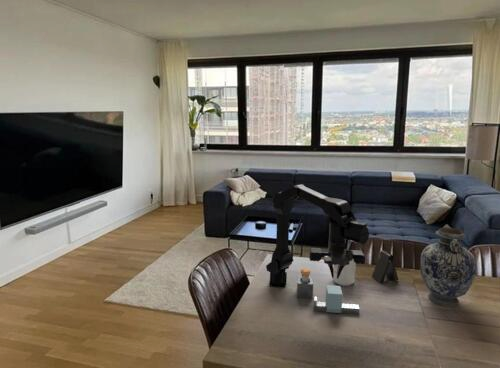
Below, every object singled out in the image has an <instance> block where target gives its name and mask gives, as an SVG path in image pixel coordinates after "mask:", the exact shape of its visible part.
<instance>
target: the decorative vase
mask: <svg viewBox="0 0 500 368" xmlns="http://www.w3.org/2000/svg"><path fill="white" fill-rule="evenodd" d="M435 235H437V237H439V238H438V242H434V243H431V244H428V245H427V246H426V247H424V249H423V250H422V252H421V254H420V259H419V260H420V261H419V269H420V275H421V278H422V280H423V282H424V285H425V287H426V288H427V289H428V290H429V292H428V293H427V298H428V299H429V300H430V301H431V302H433V303H434V304H437V305H439V306H443V307H447V308H449V307H450V308H453V307H456V306H459V304H460V301H459V299H458V298H461V297H462V296H465V295H466V294H467V293H468V291H469V290H470V288H471V286H472V284H473V283H474V281H475V278H476V274H477V269H478V268H477V266H478V265H477V259H476V258H475V256H474V254H473V253H472V252H471V251H469V250H468V249H467V248H465V247H463V246H462V242H461V241H462V240H465V239H466V235H465V233H463V231H462V230H461V229H458V228H455V227H451V226H449V224H445V225H444V226H443V227H440V228H439V229H438V230H436V231H435Z"/></svg>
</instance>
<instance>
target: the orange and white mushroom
mask: <svg viewBox="0 0 500 368" xmlns="http://www.w3.org/2000/svg"><path fill="white" fill-rule="evenodd" d="M300 274H301V277H302V280H301V282H308V283H309V277H310V274H311V269H308V268H301V269H300Z"/></svg>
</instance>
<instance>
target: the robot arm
mask: <svg viewBox="0 0 500 368" xmlns="http://www.w3.org/2000/svg"><path fill="white" fill-rule="evenodd" d="M298 198H299V199H301V200H303V201H305V202H308V203H310V204H312V205H313V206H315V207H317V208H319V209H320V210H322V211H323V213H324V214H325V215H326V216H328V217H327V218H325V219H324V222H325V223H327V224H329V232H328V233H329V235H328V247H327V248H328V249H327V250H328V251H322V249H321V248H319V247H310V248H309V250H308V251H309V252H308V255H309V261H310V262H311V261H312V262H319V261H321V260H322V258H323V263H324V264H326V265H327V266H328V268H329V271H330V275H331V278H332V279H333V277H334V272H333V267H334V266H333V265H338V268H337V279H338V278H339V276H340V274H341V271H342V269H343V268H344V266H346V265H349V264H350V263H349V262H350V261H352V259H353V261H354V262H355V263H356V265H357V264H358V265H359V264H360V265H365V263H366V256H365V253H364V252H363V251H362V250H358V249H347V247H346V245H347V244H346V243H347V242H346V241H349V242H353V243H356V244H360V245H366V244H367V242H368V240H369V237H370V231H369V229H368V227H367V223H363V222H358V221H357V218H356V216H355V214H354V212H353V211H352V209H351V205H350V203H349V202H348V201H347V200H344V199H341V198H336V197H335V198H334V197H328V196H326V195H325V194H322V193H320V192H318V191H316V190H313V189H311V188H309V187H306V186H305V185H304V184H296V185H292V187H290V188H287V189H286V190H283V191H279V192H276V193H275V194H273V196H272V206H273V209H274V211H275V212H276V235H275V236H276V239H275V241H276V242H275V249H274V250H273V252H272V254H271V261H270V262H269V263H267V264H266V265H265V267H266V271H267V272H269V285H268V286H269V287H272V288H273V287H275V288H276V287H278V288H286V284H287V282H288V281H287V279H288V273H287V271H286V270H289V268H290V266H291V265H292V264H293V262H294V252H293V251H291V249H290V248H289V241H290V240H289V239H290V236H289V235H290V214H291V212H292V210H293V208H294V204H295V200H297V199H298Z"/></svg>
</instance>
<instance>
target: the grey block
mask: <svg viewBox="0 0 500 368" xmlns="http://www.w3.org/2000/svg"><path fill="white" fill-rule="evenodd" d="M341 286H342V285H329V284H328V285H326V290H325V302H326V305H327V312H326V313H333V314H334V313H336V314H342V313H341V310H342V303H343V295H344V294H343V292H342V287H341Z"/></svg>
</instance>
